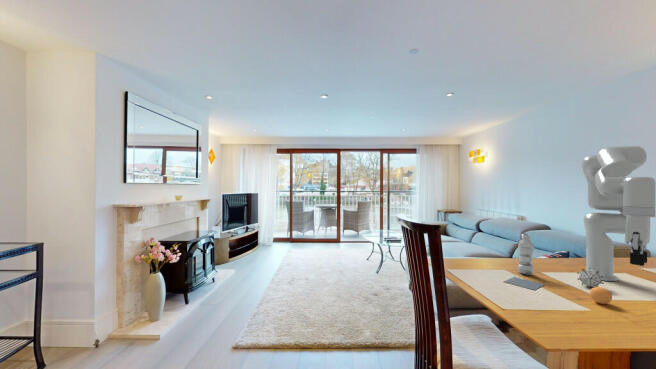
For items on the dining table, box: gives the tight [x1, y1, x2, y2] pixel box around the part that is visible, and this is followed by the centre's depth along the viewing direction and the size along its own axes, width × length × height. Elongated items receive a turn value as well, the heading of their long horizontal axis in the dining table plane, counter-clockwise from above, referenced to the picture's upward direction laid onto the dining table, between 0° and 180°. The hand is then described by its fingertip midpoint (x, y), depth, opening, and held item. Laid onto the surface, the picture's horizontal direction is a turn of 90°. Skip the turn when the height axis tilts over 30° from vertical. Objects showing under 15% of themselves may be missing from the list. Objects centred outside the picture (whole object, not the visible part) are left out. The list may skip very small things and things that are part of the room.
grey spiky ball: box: [576, 268, 605, 290], centre depth 120 cm, size 9×8×10 cm
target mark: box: [503, 276, 546, 291], centre depth 123 cm, size 12×12×1 cm
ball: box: [589, 286, 613, 305], centre depth 103 cm, size 6×6×6 cm
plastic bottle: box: [517, 233, 535, 276], centre depth 136 cm, size 6×7×20 cm
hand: (638, 263), depth 95 cm, fingers open, 5 cm apart
